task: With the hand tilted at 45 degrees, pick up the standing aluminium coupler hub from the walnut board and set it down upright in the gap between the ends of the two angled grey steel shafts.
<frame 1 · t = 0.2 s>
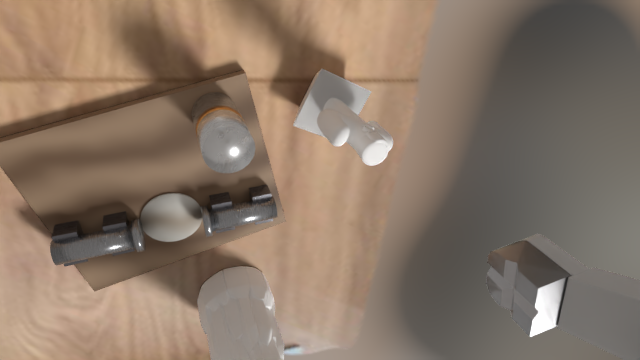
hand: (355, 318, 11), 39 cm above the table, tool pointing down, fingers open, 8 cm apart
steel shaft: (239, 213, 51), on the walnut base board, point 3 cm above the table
white peg on base: (321, 96, 51), on the table
decorative vase: (233, 291, 63), on the table
walnut base board: (163, 185, 49), on the table
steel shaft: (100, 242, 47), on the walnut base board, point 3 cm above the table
coupler hub: (214, 113, 46), point 1 cm above the table, touching walnut base board
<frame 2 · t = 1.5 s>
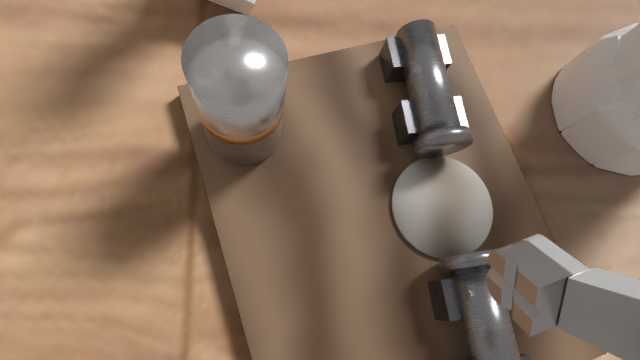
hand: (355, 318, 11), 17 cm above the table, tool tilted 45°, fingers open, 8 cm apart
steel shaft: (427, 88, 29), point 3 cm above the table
decorative vase: (609, 115, 34), on the table
walnut base board: (382, 219, 29), on the table
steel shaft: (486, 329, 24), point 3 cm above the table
coupler hub: (244, 131, 28), point 1 cm above the table, touching walnut base board
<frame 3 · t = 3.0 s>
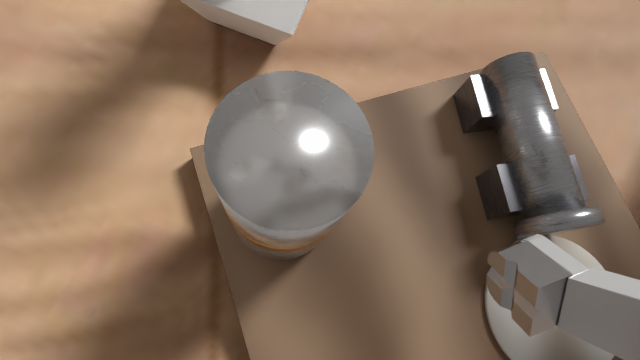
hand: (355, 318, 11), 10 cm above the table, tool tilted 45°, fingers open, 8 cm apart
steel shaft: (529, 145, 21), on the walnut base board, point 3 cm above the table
white peg on base: (255, 7, 25), on the table
walnut base board: (469, 323, 21), on the table
coupler hub: (282, 209, 21), point 1 cm above the table, touching walnut base board
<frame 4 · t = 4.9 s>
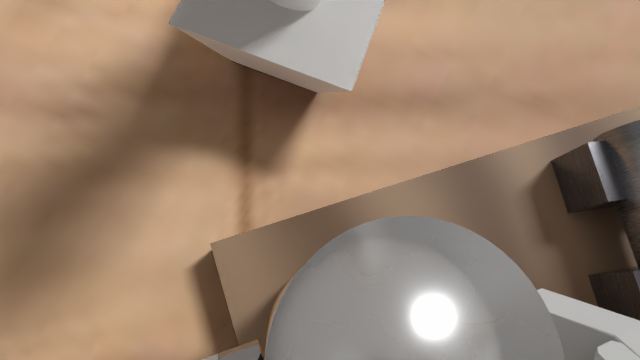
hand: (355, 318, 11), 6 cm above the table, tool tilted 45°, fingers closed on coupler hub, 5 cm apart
white peg on base: (290, 42, 20), on the table
coupler hub: (336, 329, 15), point 1 cm above the table, touching gripper, walnut base board
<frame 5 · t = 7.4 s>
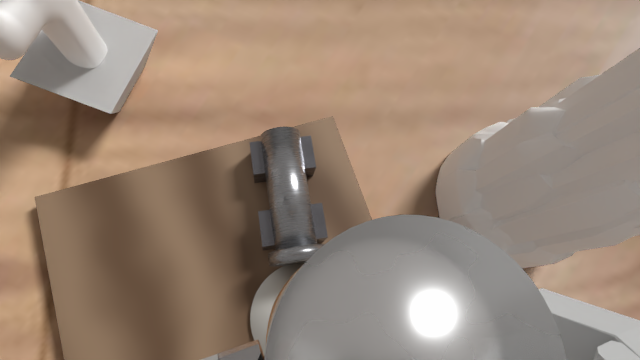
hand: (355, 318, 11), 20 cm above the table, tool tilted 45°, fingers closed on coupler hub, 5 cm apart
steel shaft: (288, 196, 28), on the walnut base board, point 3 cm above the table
white peg on base: (107, 80, 33), on the table
decorative vase: (497, 202, 34), on the table
walnut base board: (245, 328, 28), on the table
coupler hub: (336, 329, 15), point 15 cm above the table, touching gripper
when the fingers open (7 cm above the table, at t = 10.0 s): coupler hub drops 1 cm, resting on walnut base board.
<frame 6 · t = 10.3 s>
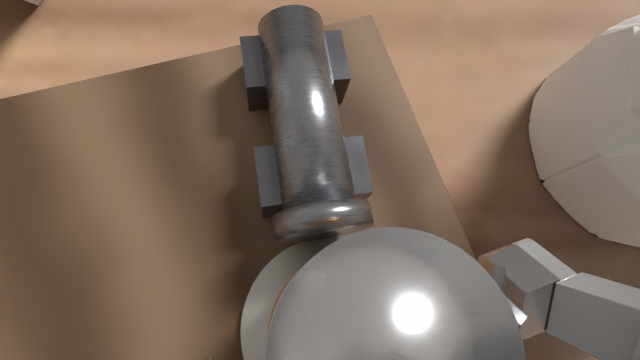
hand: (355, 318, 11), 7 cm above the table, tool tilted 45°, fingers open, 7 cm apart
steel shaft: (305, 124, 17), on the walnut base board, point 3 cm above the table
decorative vase: (620, 150, 22), on the table
walnut base board: (233, 346, 17), on the table
coupler hub: (332, 326, 16), point 2 cm above the table, touching walnut base board
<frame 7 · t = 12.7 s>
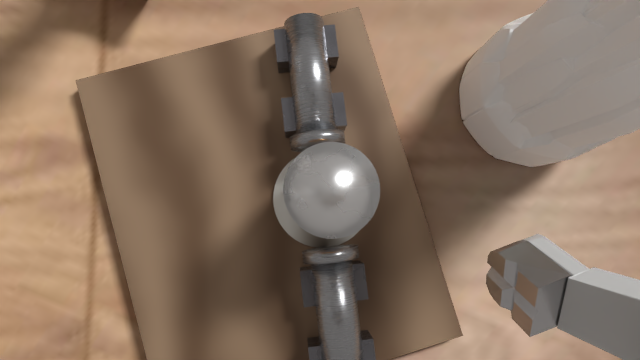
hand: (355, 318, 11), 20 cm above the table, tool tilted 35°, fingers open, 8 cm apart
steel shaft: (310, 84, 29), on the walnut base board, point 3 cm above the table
decorative vase: (522, 101, 33), on the table
walnut base board: (269, 207, 31), on the table
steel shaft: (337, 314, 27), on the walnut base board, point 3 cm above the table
coupler hub: (322, 197, 30), point 2 cm above the table, touching walnut base board
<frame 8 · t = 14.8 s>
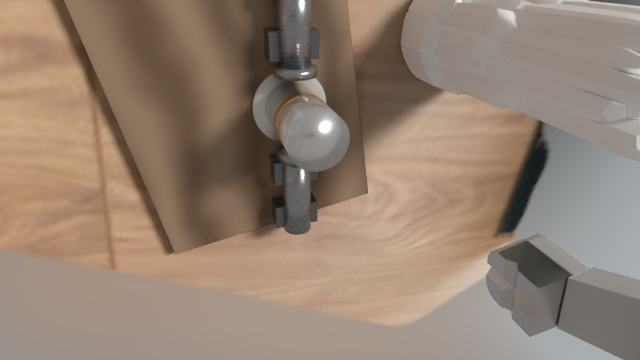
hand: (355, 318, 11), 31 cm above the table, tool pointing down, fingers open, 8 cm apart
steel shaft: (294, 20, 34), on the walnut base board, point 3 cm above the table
decorative vase: (446, 31, 42), on the table
walnut base board: (246, 108, 39), on the table
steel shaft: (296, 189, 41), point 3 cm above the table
coupler hub: (290, 107, 39), point 2 cm above the table, touching walnut base board
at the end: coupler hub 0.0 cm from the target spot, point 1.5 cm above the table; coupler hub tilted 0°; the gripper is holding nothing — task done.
